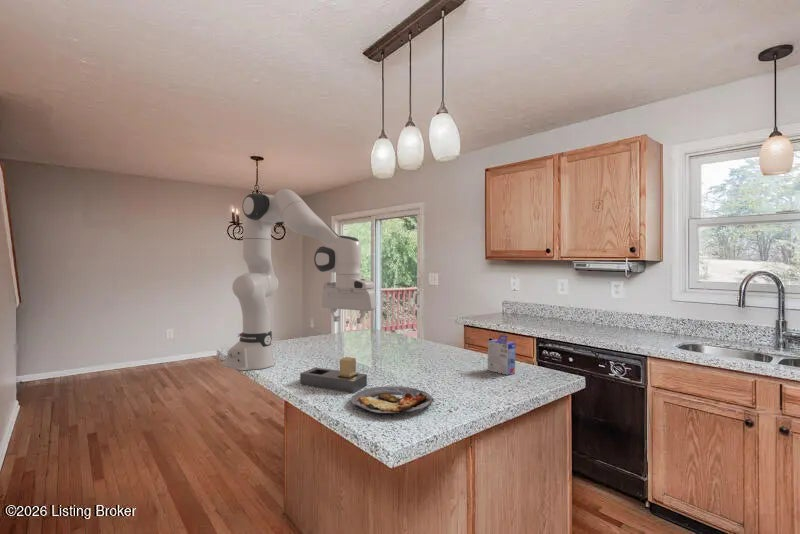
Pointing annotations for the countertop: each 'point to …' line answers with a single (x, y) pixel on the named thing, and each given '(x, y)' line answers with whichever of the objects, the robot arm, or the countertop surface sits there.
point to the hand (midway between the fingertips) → (348, 322)
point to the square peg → (348, 368)
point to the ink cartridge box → (501, 356)
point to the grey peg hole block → (332, 380)
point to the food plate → (392, 399)
